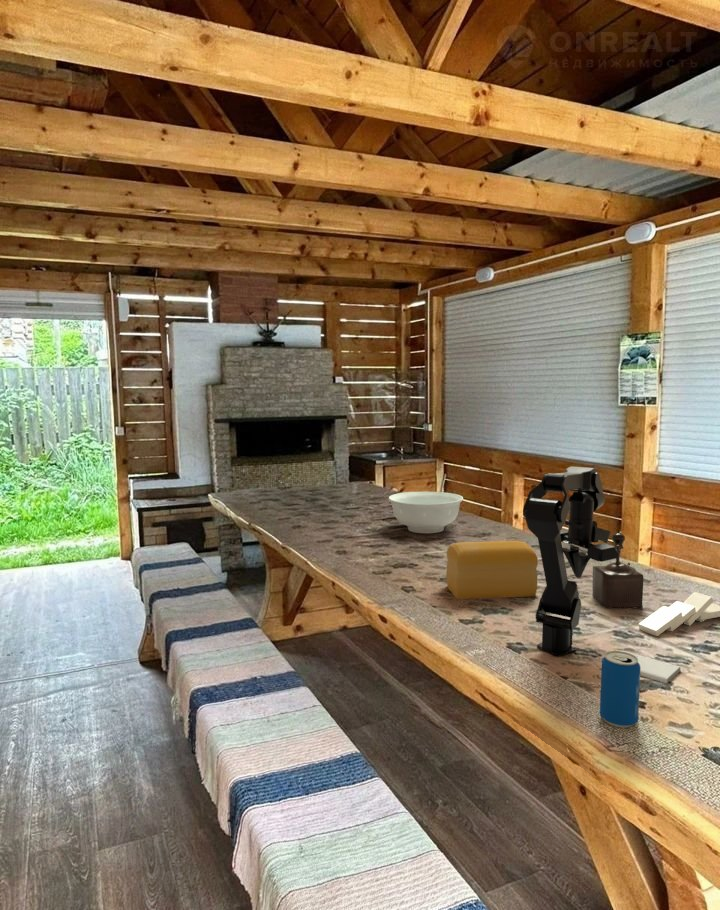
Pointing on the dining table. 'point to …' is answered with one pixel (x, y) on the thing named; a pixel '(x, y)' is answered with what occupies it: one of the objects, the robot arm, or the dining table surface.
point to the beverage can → (620, 689)
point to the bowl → (425, 510)
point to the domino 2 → (686, 613)
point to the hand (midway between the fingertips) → (578, 577)
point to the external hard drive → (656, 669)
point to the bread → (491, 569)
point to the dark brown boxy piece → (618, 582)
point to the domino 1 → (660, 620)
